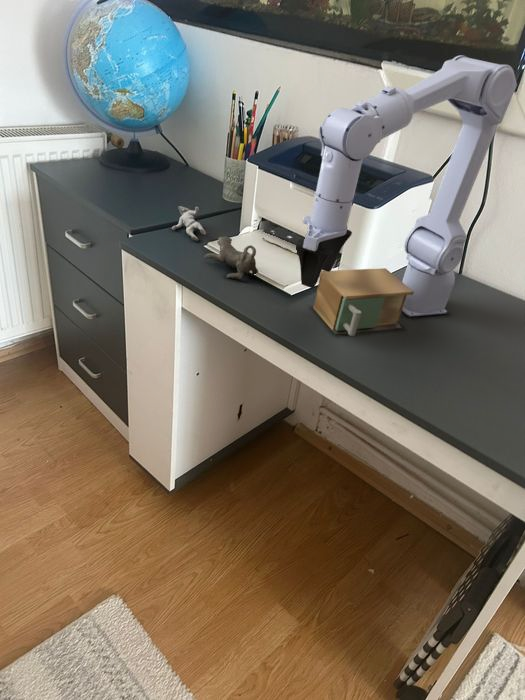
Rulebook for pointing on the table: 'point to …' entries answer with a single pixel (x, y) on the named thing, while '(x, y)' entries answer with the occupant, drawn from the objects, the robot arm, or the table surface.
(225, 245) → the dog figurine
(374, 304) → the closet door
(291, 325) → the table surface
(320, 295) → the closet
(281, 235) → the disk drive
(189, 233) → the soldier figure
